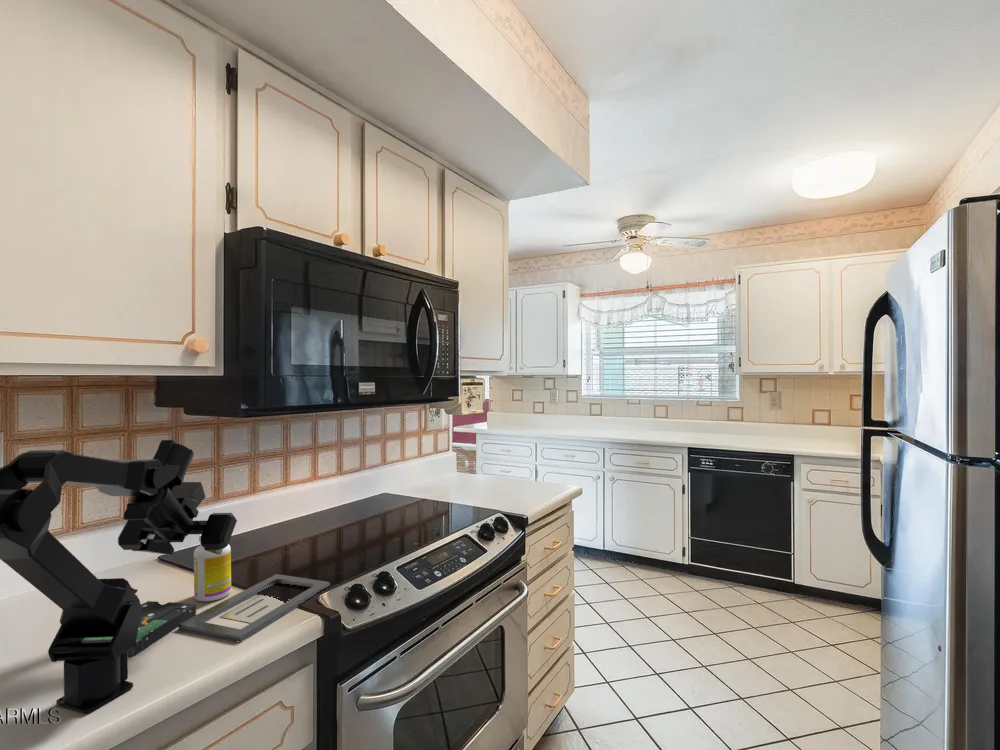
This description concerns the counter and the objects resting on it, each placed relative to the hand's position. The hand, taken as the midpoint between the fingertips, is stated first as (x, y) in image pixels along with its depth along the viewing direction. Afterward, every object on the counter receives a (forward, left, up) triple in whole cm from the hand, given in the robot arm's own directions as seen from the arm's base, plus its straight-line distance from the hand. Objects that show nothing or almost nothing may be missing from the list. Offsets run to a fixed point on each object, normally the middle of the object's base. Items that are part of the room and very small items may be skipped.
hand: (196, 552), depth 101 cm
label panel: (+5, -11, -11) cm, 16 cm away
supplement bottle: (+6, +2, -11) cm, 13 cm away
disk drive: (-10, +2, -12) cm, 15 cm away
